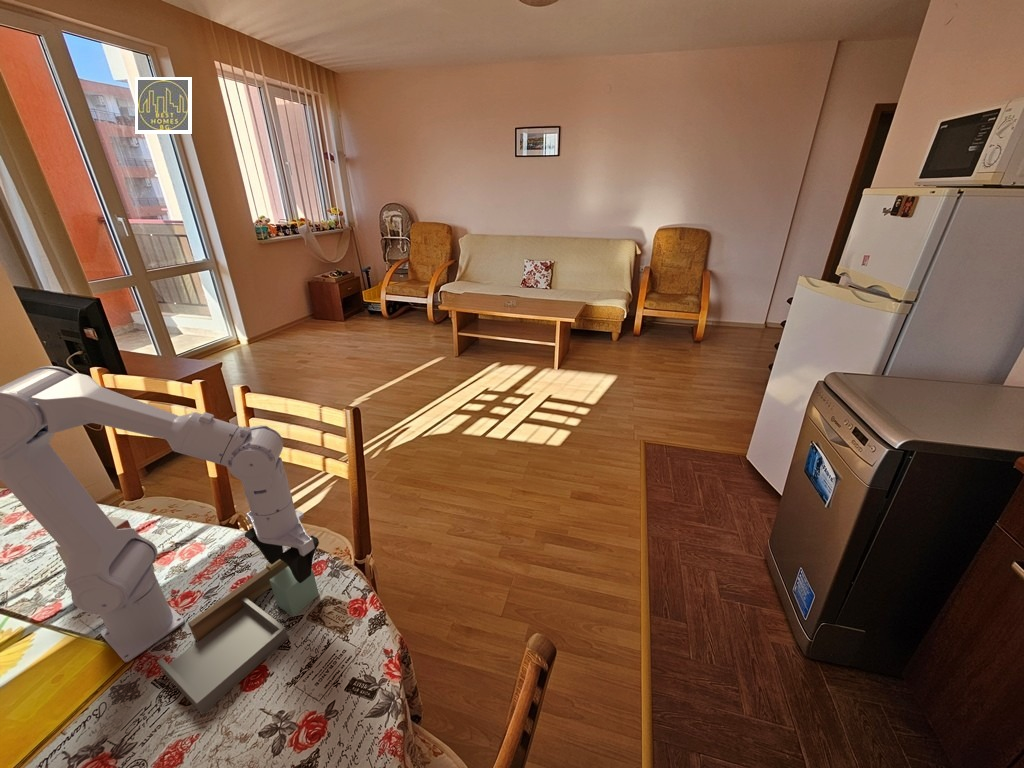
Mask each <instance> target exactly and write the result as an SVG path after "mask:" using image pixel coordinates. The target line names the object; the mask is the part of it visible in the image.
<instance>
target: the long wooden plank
mask: <svg viewBox="0 0 1024 768" xmlns="http://www.w3.org/2000/svg"><path fill="white" fill-rule="evenodd" d="M286 567H288V565H287V564H286V563H285V562H284V561H282V560H280V559H279V560H278V561H276V562H275V563H273V564H270V563H269V562H268V563H267V564H266V565H265V568H263V569H262V570H261V571H259V572H258V573H256V574H255V575H253V576H252V577H251V578H249V579H248V580H246V581H245V582H244V583H242V584H240V586H238V587H237V588H235V589H234V590H232V591H231V592H230V593H228V594H227V595H225V596H224V597H222V598H221V599H220V600H218V601H217V602H216V603H215V602H214V604H213V605H211V606H210V607H208V608H207V609H206V610H204V611H203V612H202V613H200V614H198V615H197V616H196V617H194V618H193V619H191V620H190V621H188V622H187V625H188V627H189V629H190V632H191V634H192V636H193V638H194V639H195V641H196V642H198V641H200V640H201V639H202V638H204V637H205V636H206V635H208V634H209V633H210V632H212V631H213V630H214V629H216V628H217V627H218V626H220V625H221V624H222V623H224V622H225V621H226V620H228V619H229V618H230V617H232V616H233V615H234V614H236V613H237V612H238V611H240V610H241V609H242V608H244V606H243V603H242V600H241V599H242V598H243V597H246V598H247V599H249V600H250V601H251V602H254V600H257V599H258V598H259V597H260V596H261V595H263V594H264V593H266V592H267V591H268V590H270V589H272V587H271V584H270V579H271V578H273V577H274V576H275V575H277V574H278V573H279V572H281V571H282V570H283V569H285V568H286Z"/></svg>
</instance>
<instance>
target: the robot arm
mask: <svg viewBox="0 0 1024 768" xmlns="http://www.w3.org/2000/svg"><path fill="white" fill-rule="evenodd" d="M88 424H97V425H100V426H105V427H109V428H112V429H113V428H114V429H118V430H121V431H127V432H131V433H135V434H140V435H144V436H148V437H153V438H157V439H163V440H165V441H166V442H167V443H168V445H169V446H170V449H172V451H173V452H175V453H179V454H182V455H186V456H189V457H193V458H196V459H199V460H203V461H207V462H210V463H213V464H218V465H221V466H224V467H227V470H228V472H229V473H230V474H231V475H232V476H233V477H234V478H236V479H238V480H240V481H239V482H241V483H242V487H243V490H244V494H245V497H246V500H247V504H248V506H249V509H250V510H249V512H247V513H246V514H245V516H246V518H247V522H248V524H250V525H252V527H251V528H250V529H248V530H247V531H246V532H245V533H244V537H245V538H246V539H248V540H249V541H250V542H252V543H253V544H254V545H255V546H256V548H258V550H259V551H260V552H261V554H262V556H264V558H265V560H266V561H267V562H268V563H270V564H273V563H275V562H276V561H278V560H279V559H280V560H282V561H284V562H285V563H286V564H287V565H288V566H289V568H290V570H291V571H292V574H293V576H294V578H295V579H296V580H297V581H298V582H299V583H302V582H303V581H304V580H305V579H307V578H308V577H309V576H311V570H313V559H314V556H315V552H316V551H317V548H318V547H319V544H320V541H319V538H317V537H316V536H314V535H310V536H309V534H308V532H307V531H306V529H305V527H304V525H303V524H302V522H301V520H302V519H304V517H305V515H304V512H303V511H301V510H299V509H296V508H295V505H294V500H293V495H292V492H291V487H290V484H289V481H288V477H287V472H286V469H285V467H284V462H283V460H282V457H280V456H281V454H282V451H283V448H284V439H283V438H282V436H281V433H279V432H278V431H277V430H275V429H273V428H271V427H269V426H268V425H254V426H252V427H251V426H245V425H243V426H240V425H236V424H234V423H231V422H228V421H224V420H222V419H218V418H215V415H214V414H212V413H209V412H206V411H205V412H203V413H199V412H191V413H187V414H183V415H177V414H175V413H172V412H169V411H167V410H164V409H162V408H159V407H156V406H153V405H150V404H149V403H146V402H143V401H141V400H138V399H134V398H132V397H129V396H126V395H124V394H121V393H119V392H116V391H115V390H112V389H109V388H105V387H103V386H101V384H99V383H98V382H97V381H96V380H95V379H93V378H92V377H91V376H90V375H87V374H83V373H78V372H77V373H76V372H74V371H72V370H69V369H68V368H65V367H61V366H57V365H55V366H54V365H45V366H41V367H37V368H35V369H33V370H31V371H30V372H28V373H26V374H25V375H22V376H20V377H18V378H16V379H15V380H12V381H10V382H7V383H5V384H4V385H2V386H0V481H1V482H2V483H3V485H5V487H6V488H7V489H8V490H9V491H10V492H11V493H12V494H13V495H14V496H15V498H16V499H17V500H18V501H19V502H20V503H21V504H22V505H23V507H24V508H25V509H26V510H27V511H28V512H29V513H30V514H31V516H32V517H34V519H35V520H36V521H37V522H38V523H39V525H41V527H43V530H45V531H46V532H47V533H48V534H49V536H50V537H51V538H52V539H53V540H54V541H55V542H56V543H57V545H58V544H59V545H60V547H61V548H62V549H63V550H64V551H65V552H66V553H67V554H68V555H69V562H68V566H67V568H66V571H65V576H64V582H63V583H64V585H65V586H67V588H68V589H69V590H70V593H71V600H72V602H73V605H74V606H75V607H76V608H78V609H79V610H81V611H83V612H85V613H88V614H92V615H99V616H100V619H101V620H102V622H103V624H104V625H105V628H104V629H102V630H101V631H100V635H101V637H102V638H103V639H104V641H106V642H107V644H108V645H109V646H110V647H111V649H113V651H114V652H115V653H116V655H118V656H119V657H120V658H121V660H122V661H124V663H129V662H131V661H132V660H133V659H135V658H136V657H137V656H139V655H141V654H142V653H143V652H145V651H147V650H148V649H149V648H151V647H152V646H154V645H155V644H156V643H157V642H160V641H161V640H162V639H163V638H165V637H166V636H168V635H169V634H170V633H172V632H174V631H175V630H176V629H177V628H179V627H180V626H182V625H183V624H184V623H185V621H186V620H185V618H184V617H183V616H181V614H180V613H178V612H177V611H176V610H175V609H174V608H173V607H172V606H171V605H169V602H168V601H167V598H166V595H165V594H164V591H163V590H162V587H161V585H160V583H159V580H158V579H157V576H156V574H155V567H154V564H153V563H154V562H155V560H156V558H157V556H158V548H157V546H156V545H155V543H154V542H153V541H150V540H149V539H147V538H145V537H143V536H141V535H140V534H139V533H138V532H137V531H136V529H135V528H133V527H131V528H124V529H116V527H115V526H114V525H113V524H112V522H111V521H110V520H109V519H108V517H109V516H108V517H107V515H106V513H105V512H104V511H103V510H102V508H101V507H100V506H99V505H98V504H97V502H96V501H95V500H94V498H93V497H92V496H91V494H90V493H89V492H88V491H87V490H86V488H85V487H84V485H82V483H81V482H80V481H79V480H78V478H77V477H76V476H75V475H74V473H73V472H72V471H71V470H70V468H69V466H68V465H66V463H65V462H64V460H62V458H61V457H60V455H59V454H58V453H57V452H56V451H55V449H54V448H53V447H52V445H50V442H51V440H52V439H53V436H54V435H55V434H56V433H60V432H62V431H66V430H71V429H73V428H78V427H81V426H84V425H88ZM283 547H289V548H288V549H286V550H285V551H284V548H283Z"/></svg>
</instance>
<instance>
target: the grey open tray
mask: <svg viewBox="0 0 1024 768" xmlns="http://www.w3.org/2000/svg"><path fill="white" fill-rule="evenodd" d="M241 600H242V603H243V606H244V608H242V609H241V610H240V611H238V612H237V613H236V614H234V615H233V616H232V617H230V618H229V619H228V620H226V621H225V622H224V623H222V624H221V625H220V626H218V627H217V628H216V629H214V630H213V631H212V632H210V633H209V634H208V635H206V636H205V637H204V638H202V639H201V640H200V641H196V643H195V644H193V645H192V646H190V647H189V648H188V649H186V650H185V651H184V652H183V653H181V654H180V655H178V656H177V657H176V658H174V659H173V660H172V661H171V662H169V663H168V662H167V661H166V660H165V659H164V658H163V657H160V658H159V659H158V660H157V664H158V666H159V668H160V670H161V672H162V673H163V674H164V675H165V677H167V678H168V680H169V681H170V682H171V683H172V684H173V685H174V687H176V688H177V689H178V691H179V692H181V694H182V695H183V696H184V697H185V698H186V699H187V700H188V701H189V703H190V704H192V706H193V707H194V708H195V709H196V710H197V711H198V712H199V713H200V714H201V715H202V716H203V715H204V714H205V713H207V712H208V711H209V709H211V708H212V707H213V706H214V705H216V703H218V702H219V701H220V700H221V699H223V697H225V696H226V695H227V694H228V693H229V692H230V691H231V690H232V689H234V687H236V686H237V685H238V684H239V683H240V682H241V681H243V680H244V679H245V678H246V677H247V676H249V674H250V673H251V672H253V671H254V670H255V669H256V668H258V666H259V665H261V663H263V662H264V661H265V660H266V659H267V658H269V657H270V656H271V655H272V654H273V653H274V652H275V651H276V650H278V648H280V647H281V646H282V645H283V644H285V642H287V641H288V640H289V639H290V637H289V635H288V631H287V628H286V627H285V626H284V625H282V623H280V622H279V621H278V620H277V619H275V618H273V616H271V615H270V614H269V613H267V612H266V611H264V610H263V609H262V608H261V607H259V606H258V605H257V604H255V603H254V601H252V602H251V601H250V600H249V599H247V598H246V597H243V598H242V599H241Z"/></svg>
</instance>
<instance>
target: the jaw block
mask: <svg viewBox="0 0 1024 768" xmlns="http://www.w3.org/2000/svg"><path fill="white" fill-rule="evenodd" d="M270 584H271V590H272V593H273V596H274V599H275V603H276V605H277V607H278V608H280V609H281V610H283V612H286V613H287V614H289V616H291V617H292V618H294V617H295V616H296V615H297V614H298V613H300V612H301V611H302V610H303V609H304V608H305V607H307V606H308V605H309V604H310V603H312V601H314V600H315V599H316V598H318V597H319V595H320V593H319V589H318V586H317V581H316V577H315V574H314V569H312V570H311V576H309V577H308V578H307V579H305V580H304V581H303V582H302V583H299V582H298V581H297V580H296V579H295V578H294V576H293V574H292V571H291V570H290V568H289V566H288V567H286V568H285V569H283V570H282V571H281V572H279V573H278V574H277V575H275V576H274V577H273V578H271V579H270Z"/></svg>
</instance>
